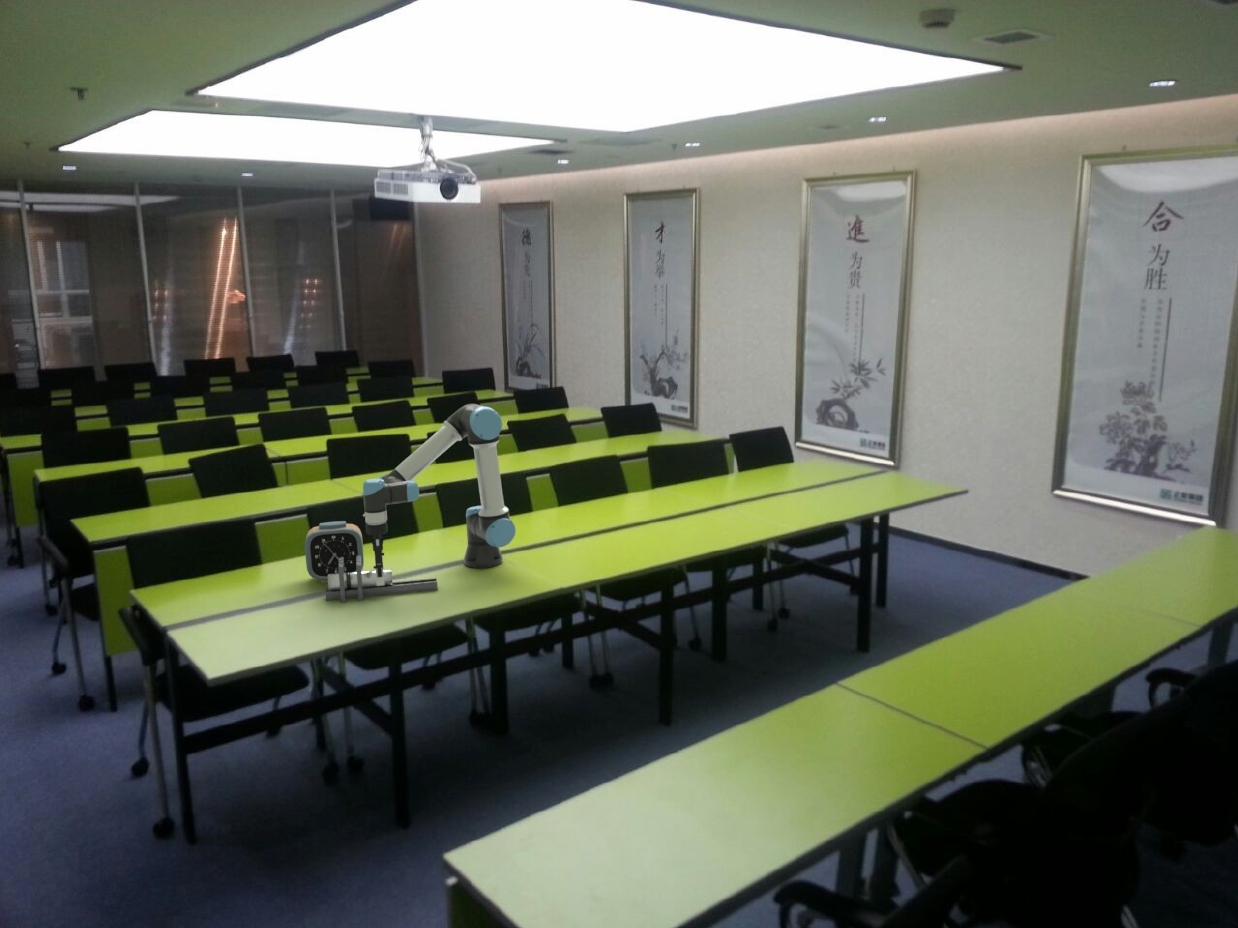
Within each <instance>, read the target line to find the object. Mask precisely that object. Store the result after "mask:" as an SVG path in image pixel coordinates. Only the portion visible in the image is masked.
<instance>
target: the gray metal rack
mask: <svg viewBox="0 0 1238 928" xmlns="http://www.w3.org/2000/svg"><path fill="white" fill-rule="evenodd" d="M338 569H339V582H340V590H336V591H329V589H328V588H327V587H326V588H325V592H324V593H325V595H324V596H325V601H326V602H327V601H328V602H329V601H337V600H340V603H341V604H342V603H346V601H347V600H348V599H358V601H359V602H360V601H361V602H362V601H364V598H367V597H377V596H387V595H388V596H389V595H398V594H399V595H400V594H406V593H407V594H408V593H416V592H417V593H418V592H427V591H428V592H429V591H436V590H437V591H438V590H439V589H438V587H439V585H438V580H437V577H432V578H423V579H422V578H420V579H411V580H400V581H392V584H393V585H388V586H378V587H367V588H362V575H361V571H363V569H362V565H361V555H360V556H356V570H357V583H358V588H357V589H346V590H345V585H344V573H345V568H344V557H339V566H338ZM346 599H347V600H346Z"/></svg>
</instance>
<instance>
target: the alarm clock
mask: <svg viewBox="0 0 1238 928" xmlns="http://www.w3.org/2000/svg"><path fill="white" fill-rule="evenodd" d="M304 553H305V565H306V570H307V574H308V575H309V576H310V577H311V578H313V579H315V580H319V581H320V584H325V583H327V584H328V574H336V573H339V569H338V566H339V557H344V568H345V573H346V572H357V570H356V556H360V555H361V565H362V570H363V568H364V566H365V565H364V562H365V561H364V556H365V555H364V543H363V535H362V532H361V529H360V528H359V526H358V525H356V524H353V523H347V521H345V520H341V521H340V520H339V521H327V522H326V521H325V522H320V523H319V524H318V526H313V527H312V528H311V529H309V530H308V532H307V534H306V538H305V542H304Z"/></svg>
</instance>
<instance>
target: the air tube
mask: <svg viewBox="0 0 1238 928" xmlns="http://www.w3.org/2000/svg"><path fill="white" fill-rule="evenodd" d="M392 570H393V569H392V568H385V569H384V568H383V571H384V585H381V586H388V585H393V584H392V582H393V571H392ZM361 575H362V588H367V587H378V586H377V584H376V570H375V569H370V570H362V571H361ZM344 585H345V590H346V589H357V588H358V583H357V572H346V573H344ZM327 587H328V589H329V591H336V590H340V582H339V573H336V574H328V582H327Z"/></svg>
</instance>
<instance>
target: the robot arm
mask: <svg viewBox="0 0 1238 928" xmlns="http://www.w3.org/2000/svg"><path fill="white" fill-rule="evenodd" d="M502 429H503V420H502V418H501V416H500V413H498V412H497V411H496V410H495V409H493V408H492V407H490V406H486V405H480V404H477V403H468V404H465V405H463V406H462V407H459V408H458V409H457V410H455V412H454V413H452V414H451V415H450V416H448V417H447V419H446V420H444V421H443V426H441V428H439V429H438V430H437V431H436V432H435V433H434V434H433V435H432V436H430V437H429V438H428V439H427V440H425V441H424V443H422V444H420V446H419V447H418V448H417V449H415V451H413V452H412V453H411V454H409V456H408V457H406V458H405V459H404V460H403V461H402V462H401V463H399V464H398V465H397V466H396V467H395V468H393V469H392V471H390V472H389V473H384V474H382V475H380V476H379V478H370V479H365V480H364V481H363V482H362V495H363V506H364V513H363V514H362V517H364V519H365V533H366V535H368V536H373V537H371V545H372V551H373V552H374V561H375V562H374V563H375V565H373V567H372V568H373V570H376V584H377V586H381V585H384V571H383V569H384V558H383V557H384V556H385V552H383V550H384V537H383V536H382V535H385V534H386V533H388V531H389V530H388V522H387V521H388V515H387V514H388V513H387V512H388V511H387V505H394V504H402V503H411V502H415V501H417V500H418V499H419V496H420V489H419V485H418V483H417V482H416V480H414V479H416V477H418V475H420V474H421V473H422V472H424V470H425V469H427V468H428V467H429V466H430V465H431V464H432V463H433V462H435V460H436V459H438V458H439V457H440V456H441V455H442V454H443V453H445V452H446V451H447V450H448V449H449V448H450V447H451V446H453V445H454V444H455V443H456V442H460V441H462V440H463V439H465V438H466V437H467V440H468V445H469V446H471V447H472V448H473V453H474V462H475V469H476V477H477V482H478V492H479V498H480V505H476V506H471V507H469V508H467V509H466V513H465V519H466V523H465V524H466V535H467V538H466V540H467V546H466V551H465V554H464V557H463V564H464V565H465V567H468V568H473V569H474V568H475V569H485V568H492V567H496V566H499V565H501V564H502V563H503V554H502V552H501V549H500V548H504V547H506V546H508V545H509V544H510V543H511V542H512V541H513V540H514V539H515V536H516V531H517V530H516V525H515V523H514V522H513V520H512V519H511V517H510V509H509V508H508V507H507V506H506V505H505V501H504V495H503V488H502V478H501V472H500V464H499V457H498V449H497V445H498V443H499V442H500V439H501V438H500V433H501V431H502Z"/></svg>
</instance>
